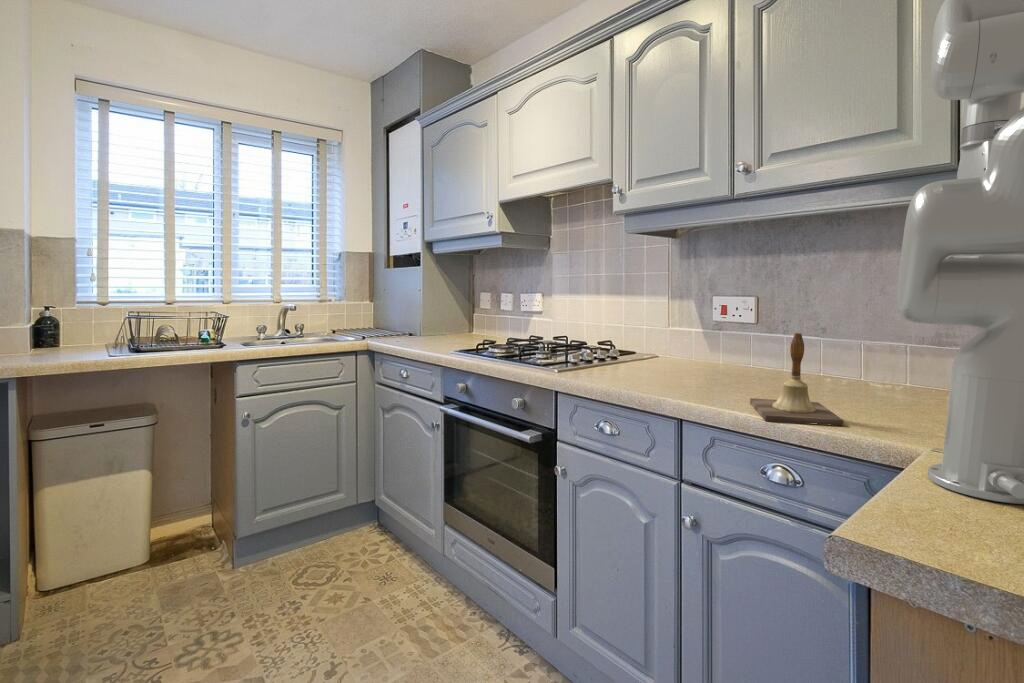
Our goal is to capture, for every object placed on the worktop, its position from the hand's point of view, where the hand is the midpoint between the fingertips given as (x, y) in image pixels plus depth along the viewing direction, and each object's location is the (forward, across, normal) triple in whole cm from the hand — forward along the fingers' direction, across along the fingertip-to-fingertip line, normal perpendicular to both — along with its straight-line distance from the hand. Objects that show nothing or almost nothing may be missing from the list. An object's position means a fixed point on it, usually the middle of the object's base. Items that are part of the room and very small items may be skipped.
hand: (977, 236), depth 98 cm
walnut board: (+36, +8, +26) cm, 45 cm away
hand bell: (+35, +8, +26) cm, 44 cm away
